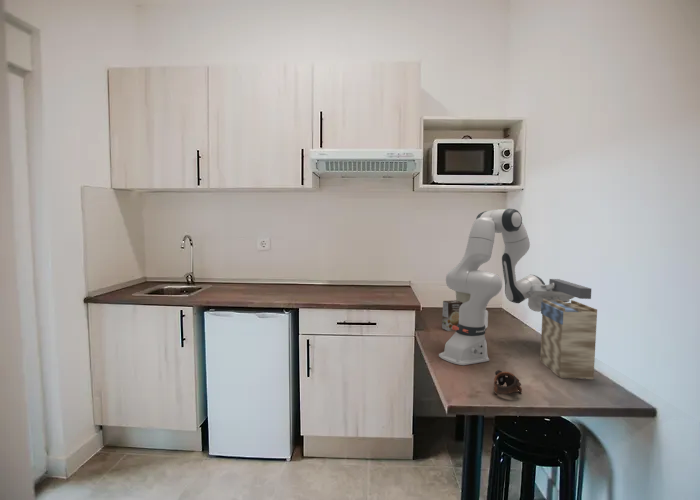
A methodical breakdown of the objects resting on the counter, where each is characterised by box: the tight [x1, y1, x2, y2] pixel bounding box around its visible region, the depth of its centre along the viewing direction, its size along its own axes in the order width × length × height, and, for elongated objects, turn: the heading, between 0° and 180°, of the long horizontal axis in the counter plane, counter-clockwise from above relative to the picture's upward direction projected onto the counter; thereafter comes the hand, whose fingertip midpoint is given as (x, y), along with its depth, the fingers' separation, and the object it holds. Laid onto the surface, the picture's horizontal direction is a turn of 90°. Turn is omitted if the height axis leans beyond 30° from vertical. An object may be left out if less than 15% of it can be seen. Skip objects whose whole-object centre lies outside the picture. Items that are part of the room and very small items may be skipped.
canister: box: [455, 291, 470, 303], centre depth 240 cm, size 18×18×21 cm
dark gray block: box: [548, 278, 592, 300], centre depth 152 cm, size 26×4×4 cm, turn 175°
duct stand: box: [539, 299, 598, 380], centre depth 148 cm, size 18×13×27 cm
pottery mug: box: [493, 369, 523, 395], centre depth 128 cm, size 12×10×8 cm
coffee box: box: [441, 299, 463, 332], centre depth 206 cm, size 9×6×16 cm
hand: (561, 284), depth 158 cm, fingers closed on dark gray block, 4 cm apart
